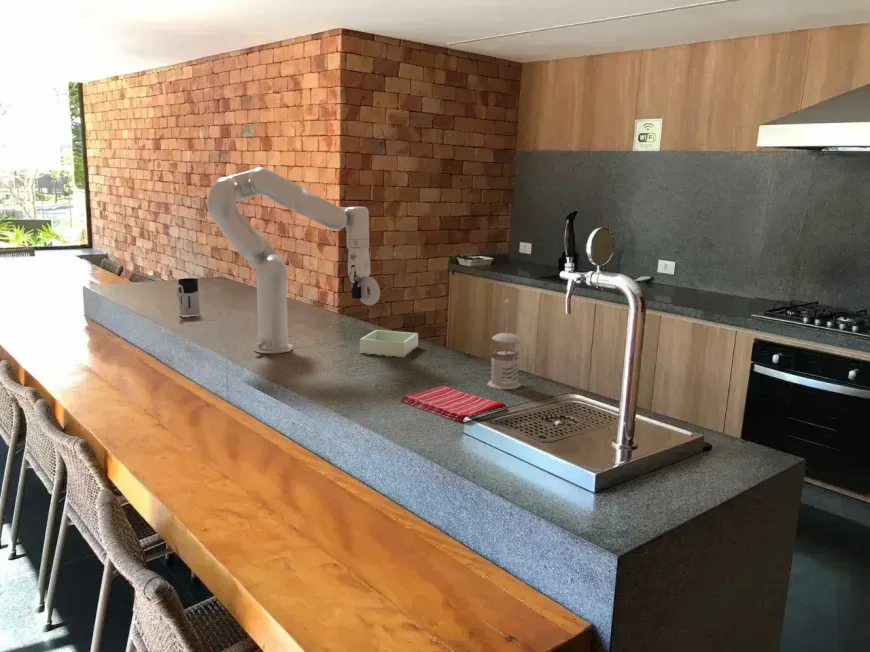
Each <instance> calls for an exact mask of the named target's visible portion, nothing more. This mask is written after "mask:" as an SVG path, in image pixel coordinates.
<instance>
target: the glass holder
mask: <svg viewBox="0 0 870 652" xmlns="http://www.w3.org/2000/svg"><path fill="white" fill-rule="evenodd" d="M199 292H200V291H199V281H198V278H194V277H191V278H189V277H188V278H184V277H183V278H179V279H178V285H177V288H176V293H177V294H176V296H177V300H178V305H179V306H178V307H179V314H180V315H199V314H201V311H200V295H199V294H200V293H199ZM179 314H178V315H179Z"/></svg>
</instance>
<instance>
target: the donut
mask: <svg viewBox="0 0 870 652" xmlns="http://www.w3.org/2000/svg"><path fill="white" fill-rule="evenodd" d="M360 287H361V299H359V301H360V302H361V303H362V304H364V305H366V306H374V305H375V304H376V303H377V302H378V301H379V299H380V296H381V289H380V285H379V283H378V282H377V280H376V279H375V278H374V277H372V276H370V275H369V276H366V277H364V278H361V279H360ZM367 288H368V289H369V294H368V289H367Z"/></svg>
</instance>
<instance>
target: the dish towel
mask: <svg viewBox="0 0 870 652" xmlns="http://www.w3.org/2000/svg"><path fill="white" fill-rule="evenodd" d="M399 401H400V402H403V403H404V404H407V405H409V406H412V407H415V408H417V409H420V410H422V411H426V412H429V413H431V414H434V415H438V416H440V417H443V418H446V419H450V420H452V421H455V422H458V423H461V424H464V423H463V419H464V418H465V417H466V416H469V415H474V414H478V413H483V412H486V411H491V410H495V409H498V408H503V407H506V408H507V405H506V403H504V402H502V401H494V400H491V399H487V398H484V397H481V396H477V395H474V394H470V393H466V392H464V391H459V390H456V389H454V388H452V387H449V386H445V385H441V386H437V387H434V388H431V389H426V390H423V391H419V392H416V393H412V394H403V395H402V396H401V399H400V400H399Z"/></svg>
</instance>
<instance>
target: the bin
mask: <svg viewBox="0 0 870 652" xmlns="http://www.w3.org/2000/svg"><path fill="white" fill-rule="evenodd" d="M416 347H419V333H418V332H408V331H394V330H384V329H383V330H382V329H375V330H373V331H371V332H369V333H368V334H366V335H364V336H362V337H361V338H360V339H359V354H360V353H367V354H366V355H370V354H377V355H376V356H381V355H385V356H384V357H392V356H396V357H395V358H403V357H404V358H406V357H407V356H408V355H410V354H411V353H412V352H413V351H412V350H413V349H415V348H416ZM416 349H417V348H416ZM416 349H415V350H416ZM411 351H412V352H411ZM410 352H411V353H410ZM409 353H410V354H409ZM407 354H408V355H407ZM406 355H407V356H406ZM405 356H406V357H405Z"/></svg>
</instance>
